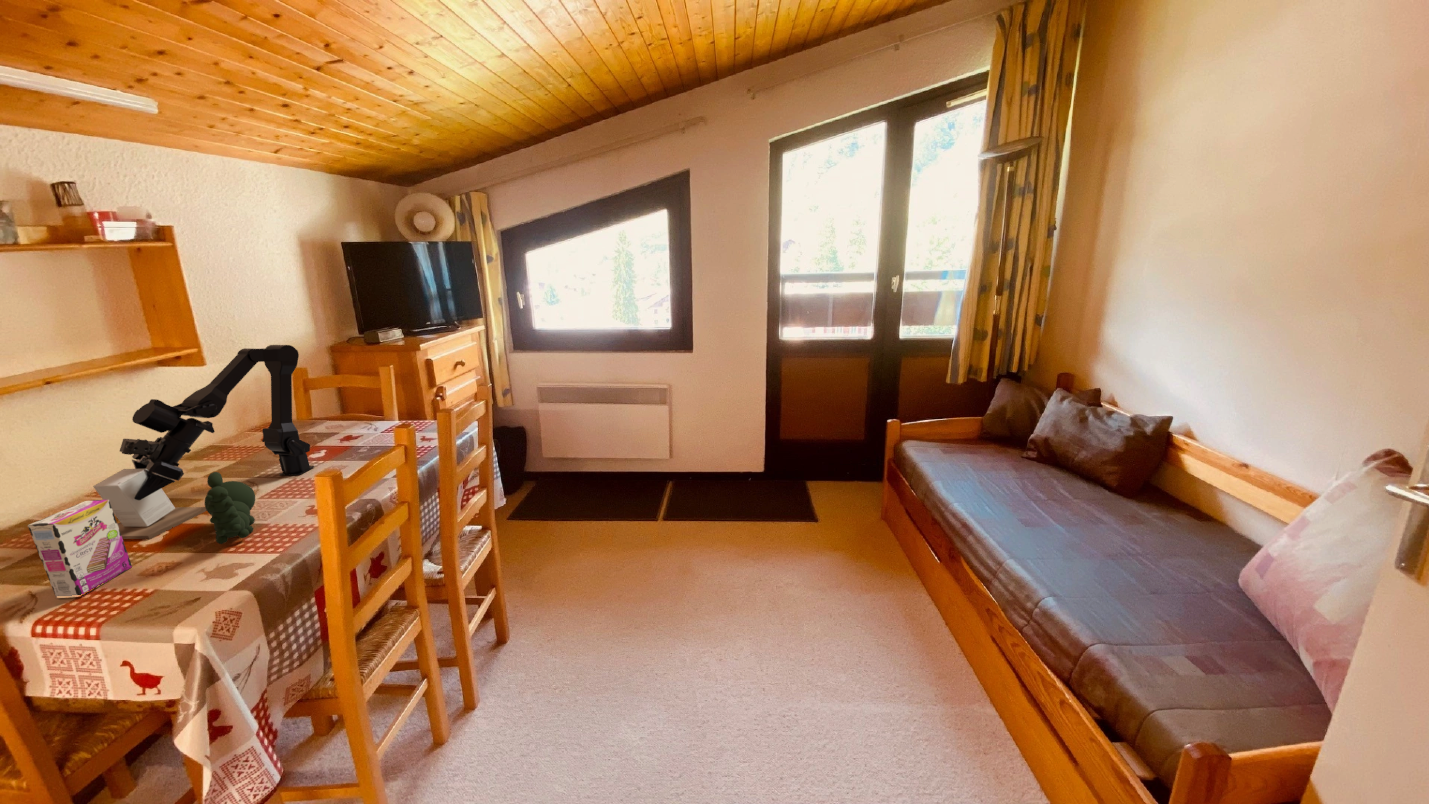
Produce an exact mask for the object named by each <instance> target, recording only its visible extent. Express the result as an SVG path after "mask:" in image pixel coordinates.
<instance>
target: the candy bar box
mask: <svg viewBox="0 0 1429 804" xmlns="http://www.w3.org/2000/svg"><path fill="white" fill-rule="evenodd" d="M27 528H28V530H29V533H30V536H31V537H32V540H33V543H34V545H35V548H36V550H37V552H38V555H39V558H40V560H41V563H42V564H43V568H44V570H45V573H46V576H47V578H48V580H49V583H50V585H51V588H52V591H53V594H54V596H55V598H56V597H57V596H72V595H81V594H84V593H85V592H87V591H90V590H91V589H93V588H96V587H97V586H98V585H101V584H102V583H104V584H106V583H107V581H108V580H109V581H111V580H113V579H114V578H116V577H118V576H119V574H120V575H122V574H123V573H125V572H127V571H129V570H130V569H131V568H133V565H132V563H131V559H130V557H129V554H128V550H127V548H126V546H125V542H124V540H123V539H122V536H121V533H120V531H119V527H118V522H117V518H116V516H115V514H114V513H113V510H112V507H111V504H110V501H109V500H103V499H94V500H85V501H82V502H80V503H77V504H75V505H72V506H71V507H68V508H66V509H64V510H61V511H58V512H56V513H54V514H51V515H49V516H47V517H44V518H42V519H39V520H37V521H35V522H32V523H30V524H28V525H27ZM112 578H113V579H112ZM109 581H108V582H109ZM105 582H106V583H105ZM101 586H102V585H101ZM96 589H97V588H96Z"/></svg>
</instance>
